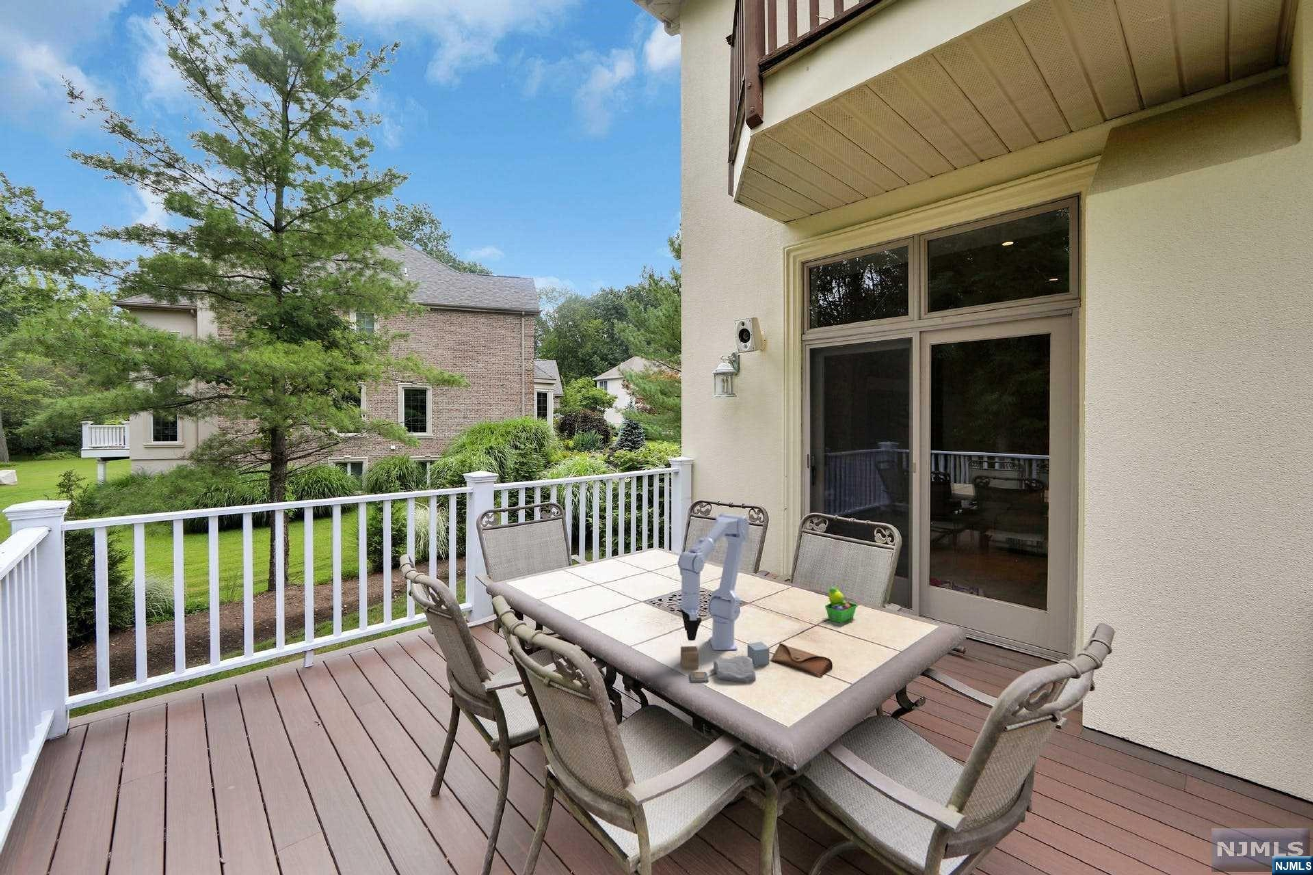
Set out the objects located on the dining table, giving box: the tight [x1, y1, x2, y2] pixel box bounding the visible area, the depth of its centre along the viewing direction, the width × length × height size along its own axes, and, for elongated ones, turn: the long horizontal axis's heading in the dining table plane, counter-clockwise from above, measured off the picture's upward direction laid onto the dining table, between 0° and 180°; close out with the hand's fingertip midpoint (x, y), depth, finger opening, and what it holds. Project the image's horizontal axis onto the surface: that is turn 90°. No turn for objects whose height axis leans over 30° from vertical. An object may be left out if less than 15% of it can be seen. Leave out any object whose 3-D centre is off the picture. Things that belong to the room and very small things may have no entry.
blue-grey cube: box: [746, 641, 770, 667], centre depth 164 cm, size 5×5×5 cm
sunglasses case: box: [769, 642, 833, 679], centre depth 162 cm, size 18×7×7 cm, turn 50°
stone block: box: [713, 655, 757, 683], centre depth 155 cm, size 12×5×10 cm
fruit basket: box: [824, 586, 858, 624], centre depth 200 cm, size 11×9×11 cm
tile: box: [689, 671, 710, 683], centre depth 153 cm, size 5×5×1 cm
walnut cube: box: [680, 645, 699, 670], centre depth 161 cm, size 5×5×5 cm
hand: (689, 635), depth 161 cm, fingers open, 7 cm apart
